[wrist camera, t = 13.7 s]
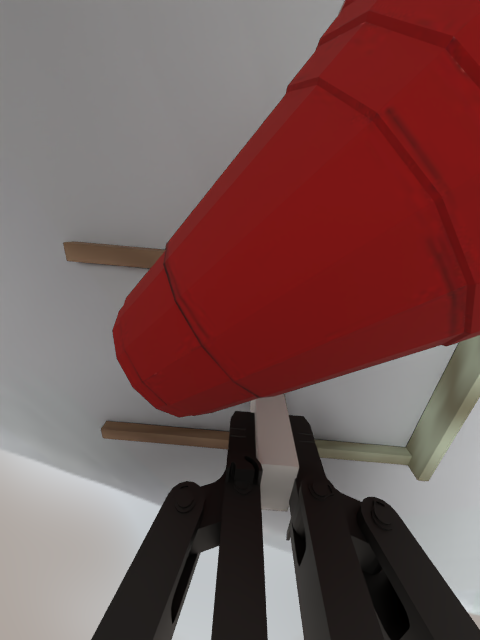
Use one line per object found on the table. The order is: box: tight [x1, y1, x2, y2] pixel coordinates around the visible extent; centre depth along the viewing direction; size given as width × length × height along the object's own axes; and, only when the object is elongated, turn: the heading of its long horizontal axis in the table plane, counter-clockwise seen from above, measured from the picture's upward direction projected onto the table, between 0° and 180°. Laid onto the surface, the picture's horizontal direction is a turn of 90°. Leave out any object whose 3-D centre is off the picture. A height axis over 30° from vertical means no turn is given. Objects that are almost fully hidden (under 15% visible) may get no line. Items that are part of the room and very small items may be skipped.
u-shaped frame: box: [63, 242, 480, 481], centre depth 16 cm, size 15×25×2 cm, turn 85°
